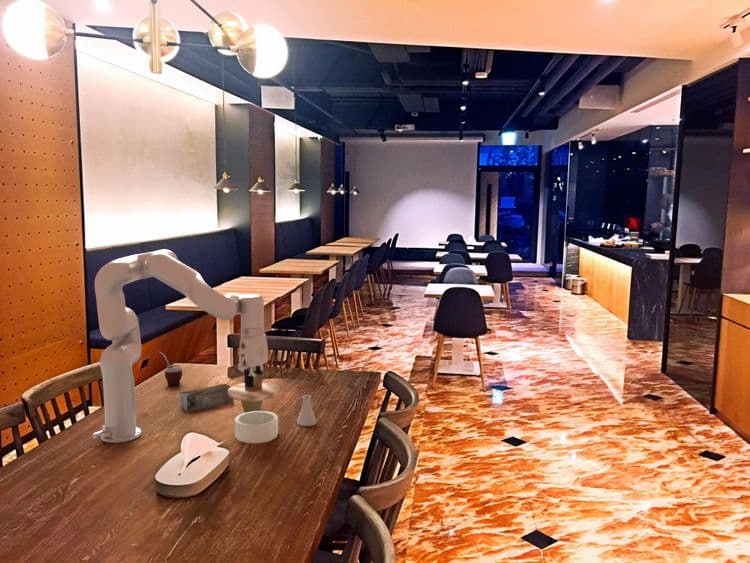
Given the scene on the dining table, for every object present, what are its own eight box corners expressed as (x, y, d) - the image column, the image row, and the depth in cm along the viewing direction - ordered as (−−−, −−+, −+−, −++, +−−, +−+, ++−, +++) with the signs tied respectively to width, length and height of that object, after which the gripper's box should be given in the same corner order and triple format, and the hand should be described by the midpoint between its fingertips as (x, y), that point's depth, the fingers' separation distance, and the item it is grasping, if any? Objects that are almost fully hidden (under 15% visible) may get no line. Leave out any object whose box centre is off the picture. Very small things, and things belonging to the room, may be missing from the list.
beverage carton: (179, 406, 238) (179, 390, 237) (226, 397, 249) (226, 382, 248) (186, 412, 231) (186, 395, 231) (234, 403, 243) (234, 387, 242)
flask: (313, 427, 218) (313, 400, 217) (293, 425, 219) (293, 398, 218) (319, 420, 225) (319, 394, 224) (300, 418, 226) (300, 392, 225)
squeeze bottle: (265, 407, 238) (265, 362, 235) (259, 414, 230) (259, 367, 227) (244, 406, 238) (244, 361, 236) (238, 413, 230) (237, 366, 228)
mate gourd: (186, 384, 265) (185, 350, 263) (171, 389, 258) (170, 354, 256) (174, 381, 269) (173, 347, 267) (159, 386, 262) (158, 351, 260)
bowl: (259, 446, 201) (259, 428, 200) (226, 437, 208) (226, 420, 207) (285, 432, 213) (285, 415, 212) (253, 424, 220) (253, 408, 219)
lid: (257, 404, 197) (256, 385, 196) (216, 395, 205) (216, 377, 204) (289, 390, 212) (289, 372, 211) (250, 382, 220) (250, 365, 219)
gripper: (244, 337, 196) (246, 393, 199) (277, 328, 211) (278, 380, 213) (226, 335, 200) (228, 389, 202) (259, 325, 215) (260, 377, 217)
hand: (253, 384), depth 208 cm, fingers closed on lid, 4 cm apart
